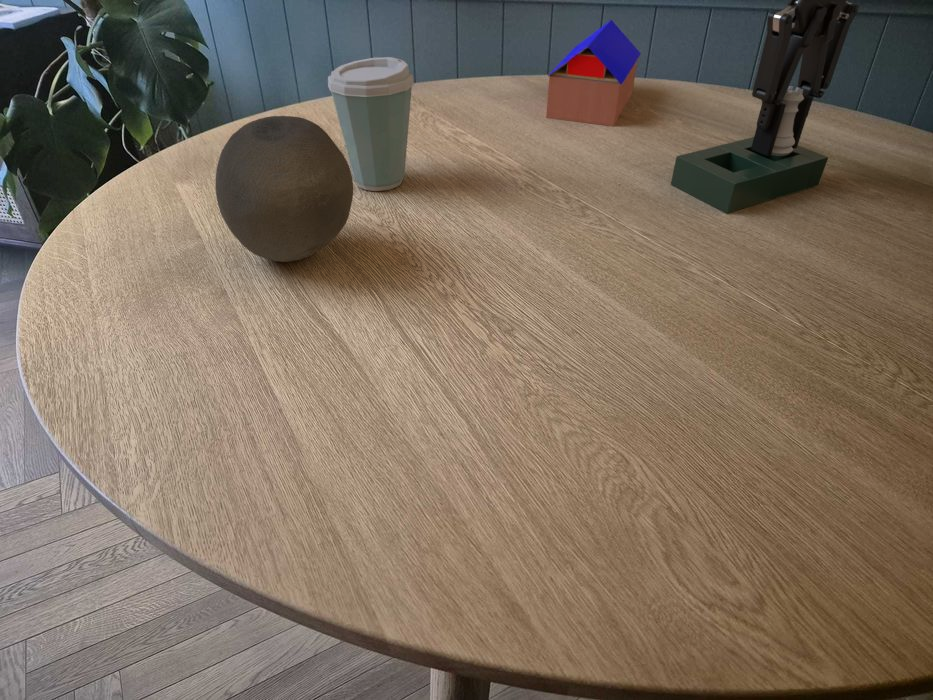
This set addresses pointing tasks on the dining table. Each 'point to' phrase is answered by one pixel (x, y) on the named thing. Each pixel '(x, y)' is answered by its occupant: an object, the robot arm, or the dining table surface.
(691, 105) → the dining table surface
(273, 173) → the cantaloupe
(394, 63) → the disposable coffee cup
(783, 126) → the rook chess piece
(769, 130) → the robot arm
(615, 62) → the house
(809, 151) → the peg block
